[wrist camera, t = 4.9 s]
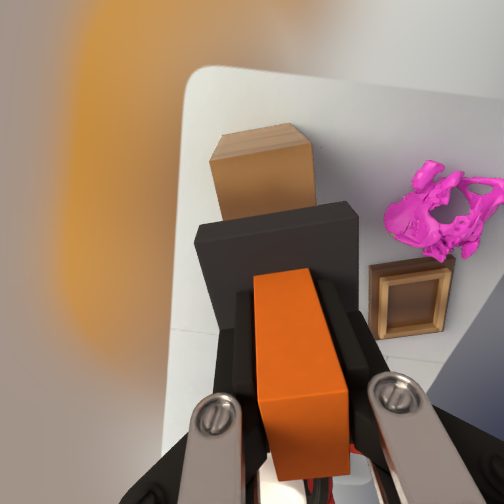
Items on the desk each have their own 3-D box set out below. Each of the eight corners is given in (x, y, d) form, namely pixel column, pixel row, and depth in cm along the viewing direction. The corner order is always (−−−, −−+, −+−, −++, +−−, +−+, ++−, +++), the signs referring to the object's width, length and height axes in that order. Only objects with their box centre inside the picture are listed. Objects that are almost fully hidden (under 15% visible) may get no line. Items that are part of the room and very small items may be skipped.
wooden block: (221, 135, 31) (208, 160, 21) (290, 122, 31) (311, 142, 20) (237, 208, 35) (232, 261, 25) (298, 198, 35) (319, 247, 24)
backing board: (368, 265, 39) (375, 274, 37) (450, 253, 38) (461, 262, 36) (368, 335, 45) (373, 346, 43) (438, 325, 44) (447, 336, 42)
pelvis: (371, 233, 37) (394, 261, 31) (404, 151, 32) (439, 166, 27) (462, 249, 38) (501, 279, 32) (507, 173, 34) (561, 192, 28)
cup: (288, 419, 54) (302, 530, 40) (217, 418, 54) (206, 530, 40) (295, 369, 48) (313, 480, 35) (215, 368, 48) (202, 480, 34)
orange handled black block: (198, 223, 12) (153, 359, 6) (346, 199, 11) (445, 320, 6) (234, 352, 15) (226, 515, 9) (349, 337, 15) (413, 498, 9)
